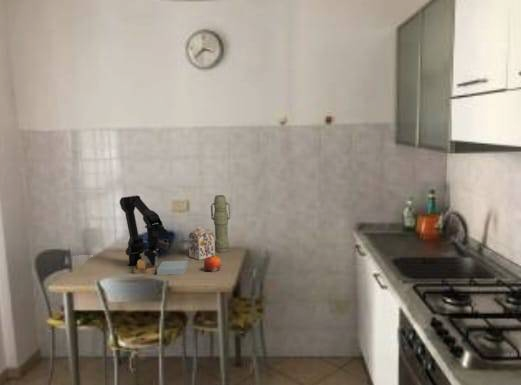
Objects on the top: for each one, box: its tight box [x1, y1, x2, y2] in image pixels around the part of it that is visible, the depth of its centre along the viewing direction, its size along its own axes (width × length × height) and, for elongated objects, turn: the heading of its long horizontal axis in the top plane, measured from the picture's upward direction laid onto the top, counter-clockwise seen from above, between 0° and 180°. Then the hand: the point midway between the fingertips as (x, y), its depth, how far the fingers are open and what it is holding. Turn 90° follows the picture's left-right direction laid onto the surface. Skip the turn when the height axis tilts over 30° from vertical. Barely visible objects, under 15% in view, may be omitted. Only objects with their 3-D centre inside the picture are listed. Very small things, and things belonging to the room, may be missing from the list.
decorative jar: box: [187, 226, 216, 261], centre depth 296 cm, size 12×12×18 cm
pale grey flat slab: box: [156, 260, 189, 276], centre depth 270 cm, size 14×16×3 cm
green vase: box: [210, 194, 231, 253], centre depth 307 cm, size 9×12×35 cm
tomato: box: [203, 255, 222, 272], centre depth 267 cm, size 9×9×8 cm
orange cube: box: [137, 258, 148, 269], centre depth 269 cm, size 4×4×4 cm
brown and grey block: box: [133, 256, 160, 274], centre depth 269 cm, size 12×8×8 cm, turn 90°
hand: (154, 264), depth 269 cm, fingers open, 5 cm apart
